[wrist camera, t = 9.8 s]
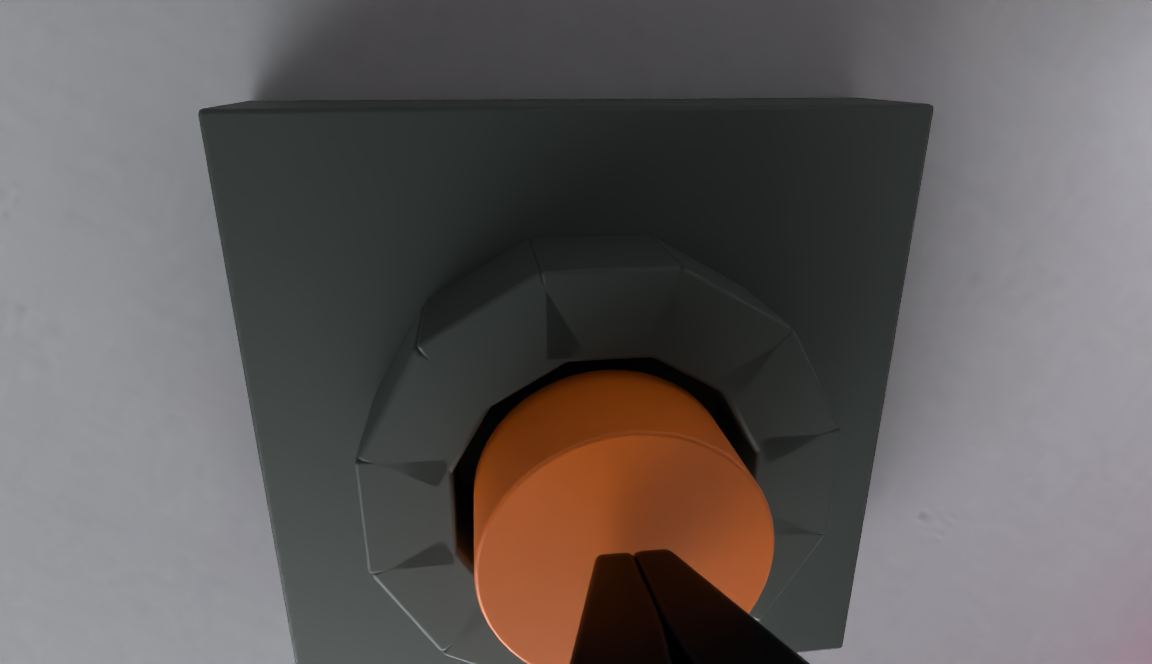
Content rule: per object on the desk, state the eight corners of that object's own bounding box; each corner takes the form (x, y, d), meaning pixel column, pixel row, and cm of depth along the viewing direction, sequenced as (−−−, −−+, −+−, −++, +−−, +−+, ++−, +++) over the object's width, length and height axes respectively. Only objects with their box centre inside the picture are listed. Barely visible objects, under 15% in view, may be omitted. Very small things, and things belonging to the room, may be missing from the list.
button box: (326, 617, 14) (276, 809, 11) (247, 100, 11) (130, 119, 7) (795, 573, 16) (894, 731, 12) (858, 97, 12) (1028, 111, 8)
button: (479, 601, 10) (480, 701, 9) (466, 375, 9) (465, 443, 7) (717, 578, 11) (761, 669, 9) (737, 361, 10) (791, 421, 8)
